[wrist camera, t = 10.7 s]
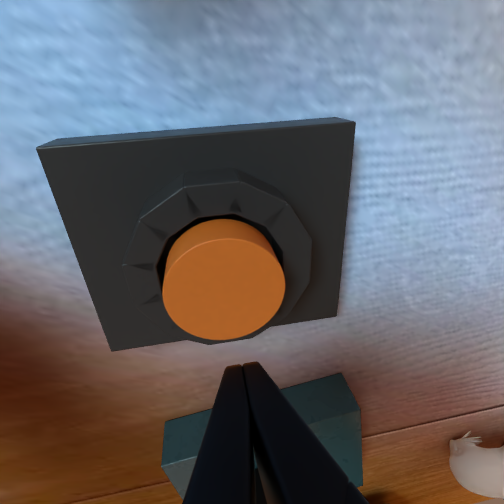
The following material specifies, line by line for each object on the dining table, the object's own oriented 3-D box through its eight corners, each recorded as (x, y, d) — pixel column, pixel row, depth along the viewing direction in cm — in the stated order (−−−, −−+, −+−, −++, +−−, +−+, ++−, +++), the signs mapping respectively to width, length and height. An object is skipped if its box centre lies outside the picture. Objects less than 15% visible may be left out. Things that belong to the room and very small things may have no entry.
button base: (119, 325, 18) (100, 385, 14) (56, 138, 13) (4, 158, 9) (324, 295, 19) (353, 342, 16) (336, 116, 14) (383, 127, 11)
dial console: (202, 489, 27) (203, 535, 24) (164, 421, 22) (160, 469, 19) (347, 447, 28) (364, 487, 25) (341, 372, 23) (362, 412, 20)
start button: (176, 318, 14) (174, 348, 12) (156, 225, 11) (150, 247, 10) (275, 304, 14) (285, 330, 13) (273, 212, 12) (285, 230, 10)
